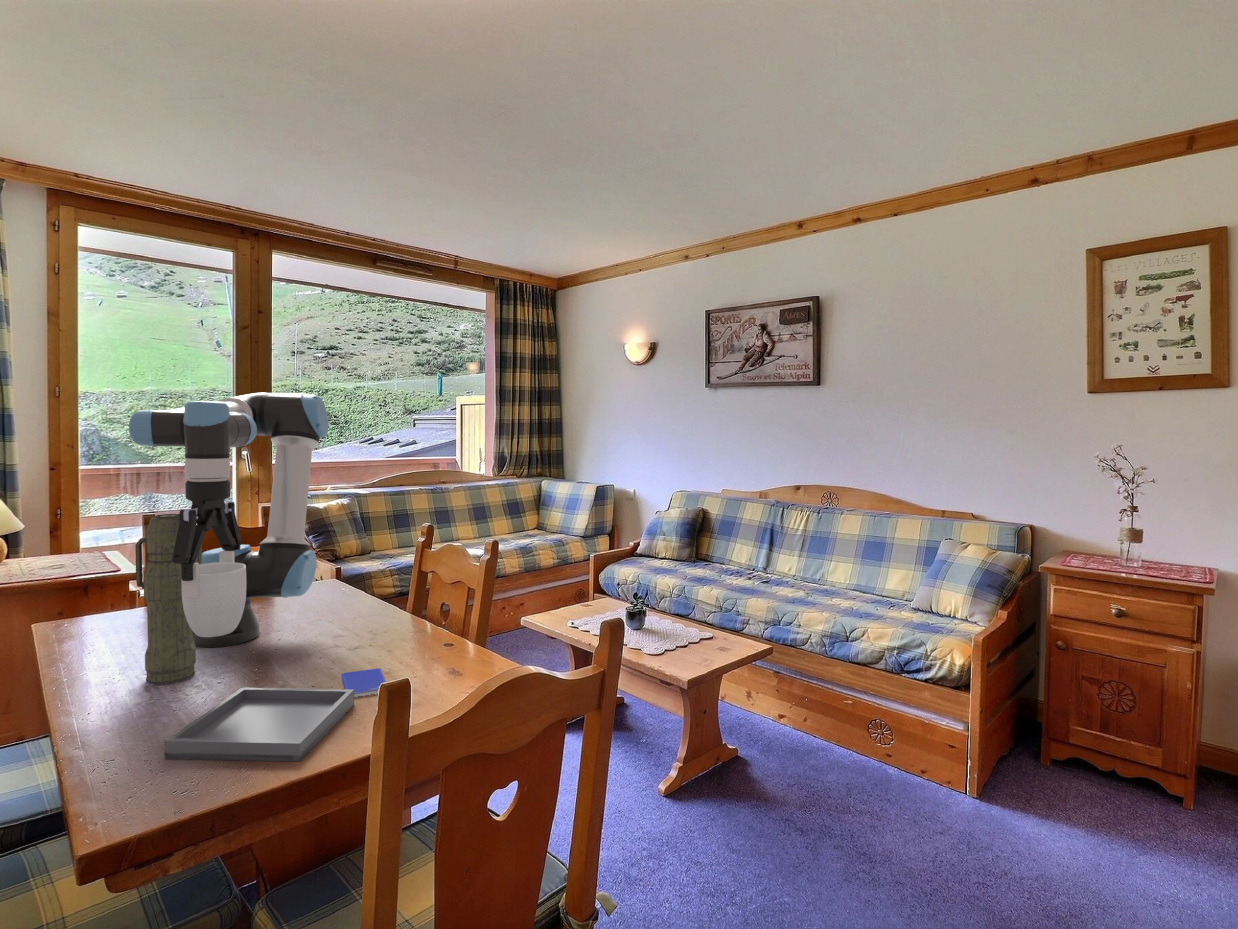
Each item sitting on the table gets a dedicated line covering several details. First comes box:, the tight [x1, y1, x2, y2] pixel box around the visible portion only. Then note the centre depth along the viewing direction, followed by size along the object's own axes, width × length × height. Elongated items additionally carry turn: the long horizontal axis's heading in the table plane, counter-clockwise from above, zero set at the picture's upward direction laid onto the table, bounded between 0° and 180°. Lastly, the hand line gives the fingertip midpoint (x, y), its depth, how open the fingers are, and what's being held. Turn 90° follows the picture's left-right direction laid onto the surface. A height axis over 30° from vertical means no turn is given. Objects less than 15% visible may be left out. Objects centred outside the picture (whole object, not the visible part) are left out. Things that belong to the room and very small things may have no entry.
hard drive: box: [340, 667, 387, 698], centre depth 138 cm, size 2×8×12 cm
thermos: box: [134, 513, 203, 686], centre depth 139 cm, size 9×12×35 cm
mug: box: [181, 562, 247, 637], centre depth 131 cm, size 15×11×13 cm
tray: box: [163, 687, 355, 762], centre depth 117 cm, size 22×22×3 cm
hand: (210, 589), depth 130 cm, fingers closed on mug, 11 cm apart
